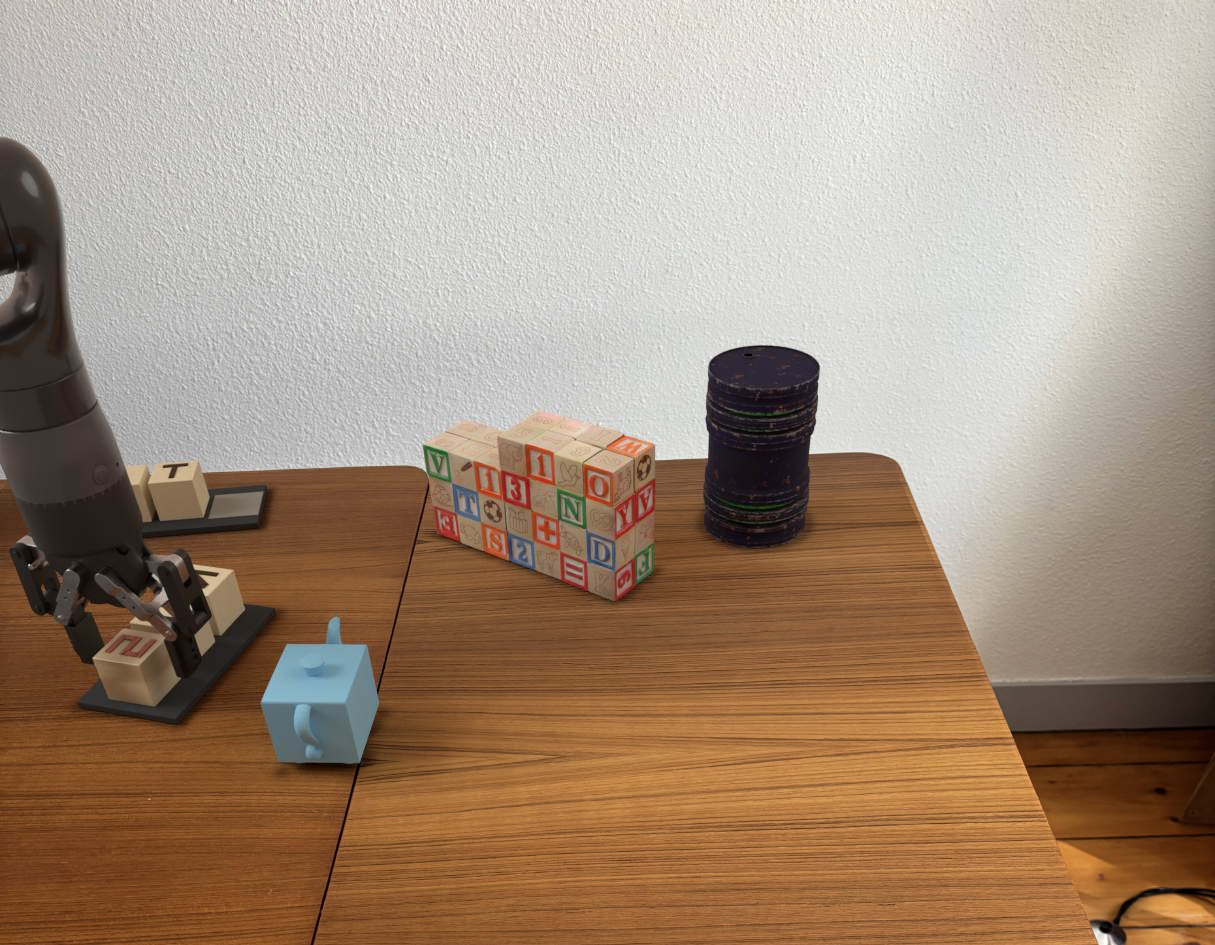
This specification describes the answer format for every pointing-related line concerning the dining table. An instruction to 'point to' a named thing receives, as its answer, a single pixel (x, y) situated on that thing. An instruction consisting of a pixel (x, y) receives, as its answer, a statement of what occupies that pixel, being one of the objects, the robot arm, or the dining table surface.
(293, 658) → the teapot
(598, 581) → the stack of blocks
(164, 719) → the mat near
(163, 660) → the tile
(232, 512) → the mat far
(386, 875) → the dining table surface
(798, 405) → the storage jar
